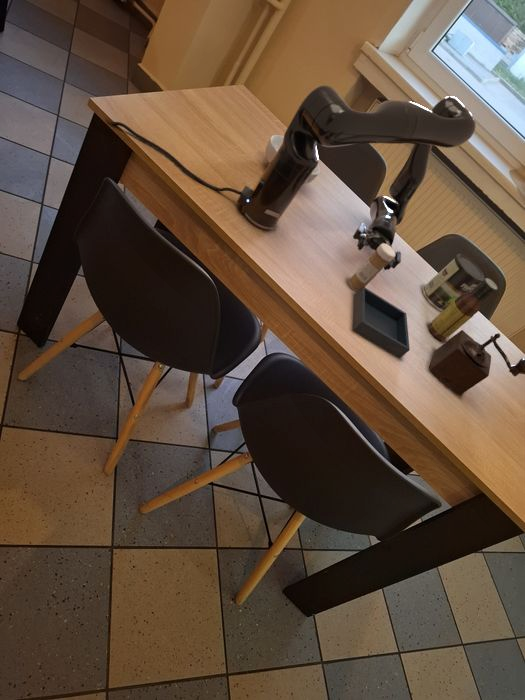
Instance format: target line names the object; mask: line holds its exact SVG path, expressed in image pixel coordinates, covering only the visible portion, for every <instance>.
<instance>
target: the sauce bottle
mask: <svg viewBox="0 0 525 700" xmlns="http://www.w3.org/2000/svg"><path fill="white" fill-rule="evenodd" d="M497 291H498V285H497V284H496V283H495V282H494V281H493V280H492V279H490V278H488V277H487V278H485V279H484V280H483V281H482V282H481V283H480V284H479V285H477V286H476V287H475V288H474V289H472V290H471V291H470V292H468V293H465V294H463V295H461V296H460V297H458V298H457V299H456V300H455V301H454V302H452V303H451V304H450V305H449V306H448V307H447V308H446V309H445V310H444V311H443V312H442V311H440V313H439V314H438V315H437V316H436V317H434V318H433V319H432V320H431V322H430V323H429V325H428V329H429V331H430V333H431V334H432V335H433V336H434V337H435V338H436V339H438V340H440V341H446V340H447V339H448V338H449V337H451V336H452V335H453V334H454V333H455V332H456V331H457V330H459V329H460V328H461V327H463V326H464V325H465V324H466V323H467V322H468V321H469V320H470V319H472V318H473V317H474V315H475V314H477V313H478V312H479V311H480V310H481V308H482V307H483V304H484V302H485V301H486V299H488V298H489V297H490V296H491V295H492V294H494V293H495V292H497Z"/></svg>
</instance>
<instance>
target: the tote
mask: <svg viewBox="0 0 525 700" xmlns="http://www.w3.org/2000/svg"><path fill="white" fill-rule="evenodd" d="M352 307H353V309H352V332H354V333H356V334H357V335H359V336H361V337H363V338H364V339H366V340H368V341H369V342H371V343H372V344H374V345H376V346H378V348H381V349H382V350H385V351H386V352H388V353H390V354H391V355H393V356H395V357H397V358H398V359H401V358H403V356H405V355H406V354H407V353H408V352H410V351H411V350H410V338H409V327H408V326H409V325H408V317H407V313H406V312H405V311H404V310H402V309H400V308H399V307H397V306H395V305H394V304H392V303H390V302H389V301H388V300H386V299H384V298H383V297H381V296H379V295H378V294H376V293H374V292H373V291H371V289H368V288H367V287H366V286H365V287H363V286H362V287H361V288H360V289H359V290H358V291H355V293H354V294H353V305H352Z"/></svg>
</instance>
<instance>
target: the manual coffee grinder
mask: <svg viewBox="0 0 525 700" xmlns="http://www.w3.org/2000/svg"><path fill="white" fill-rule="evenodd" d="M500 338H501V333H499V332H496V333H495V334H494V335H490V338H489V339H488V340H486V341H485V342H484V343H482V344H480V343H479V342H478V341H476V340H475V339H473V338H472V337H471V336H470V335H469V334H468V333H466V331H464V330H463V329H462V330H459V331H458V332H457V333H456V334H455V335H453V336H452V337H450V338H449V339H447V341H445V342H443V344H442V345H440V346H439V347H437V348H436V349H435V350H434V351H433V354H432V357H431V360H430V362H429V365H428V370H429V372H430V373H431V374H432V375H434V376H435V377H436V378H437V379H438V380H439V381H440V382H441V383H442V384H443V385H444V386H445V387H447V388H448V389H449V390H451V391H452V392H453V393H454V394H456V395H458V396H459V397H461V396H462V395H463V394H464V393H466V392H467V391H469V390H470V389H472V388H473V387H475V386H476V385H478V384H479V383H480V382H482V381H483V380H485V379H487V378H488V377H489V375H490V370H491V364H492V363H491V362H492V355H491V354H490V353H489V352H488V351H487V350H486V349H485V348H486V347H488V346H489V345H490V344H492V343H493V346H494V347H495V349H496V350H497V352H498V353H499V354H500V356H501V357H502V359H503V360H504V362H505V364H506V367H507V368H508V372H509V373H511V375H512V376H513V377H514V378H515V377H517V376H518V375H525V357H522V358H520V359H519V360H518V362H517V363H516V364H511V362H510V359H509V358H508V356H507V355H506V353H505V351H504V350H503V349H502V348H501V347H500V345H499V344H498V342H497V340H498V339H500Z"/></svg>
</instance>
